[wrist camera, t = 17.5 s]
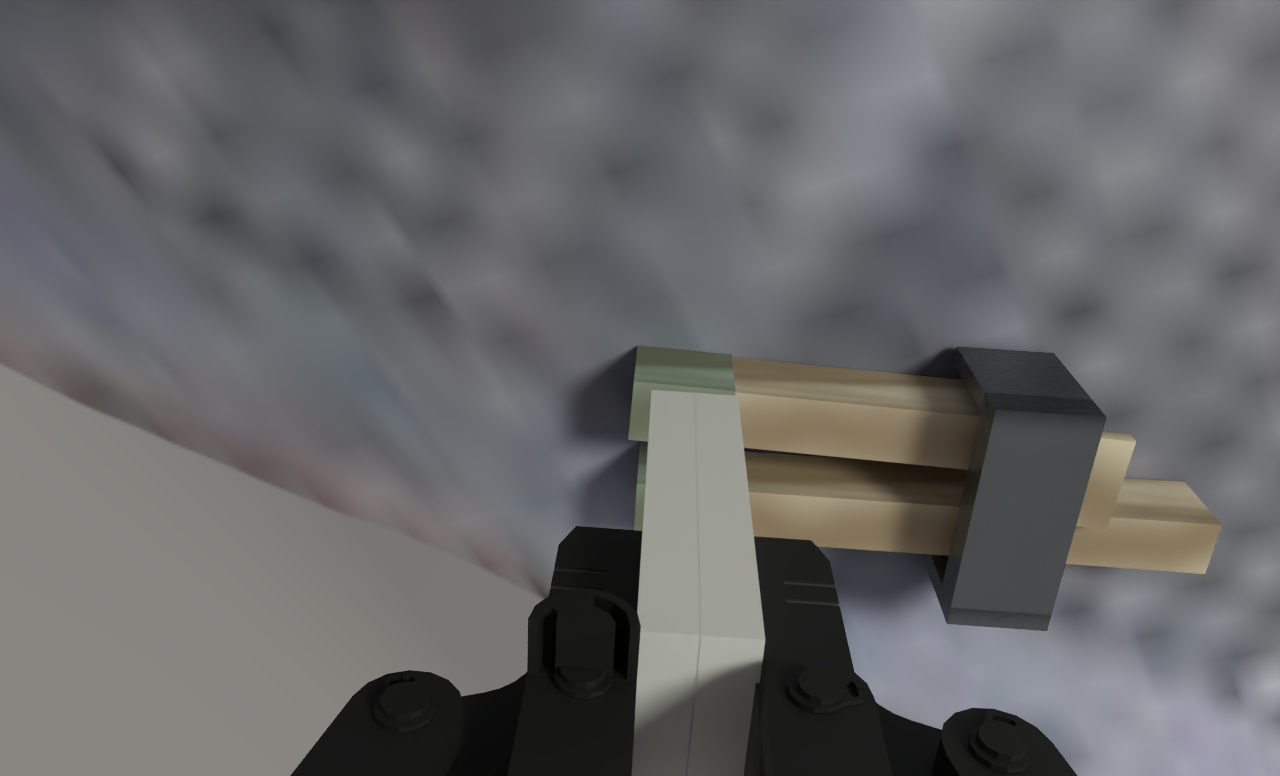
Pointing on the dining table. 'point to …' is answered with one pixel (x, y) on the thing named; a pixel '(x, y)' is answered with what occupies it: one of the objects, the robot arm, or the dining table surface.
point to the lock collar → (1017, 489)
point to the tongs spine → (952, 511)
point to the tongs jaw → (851, 415)
